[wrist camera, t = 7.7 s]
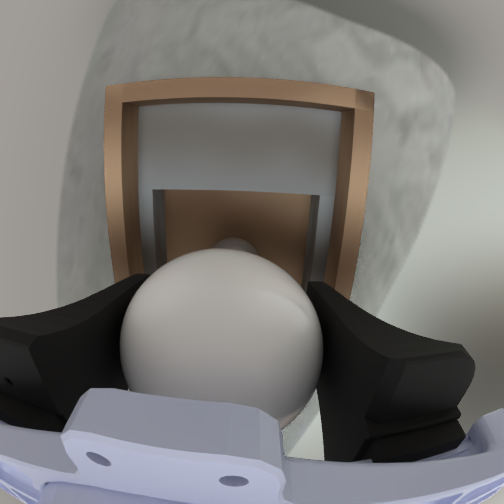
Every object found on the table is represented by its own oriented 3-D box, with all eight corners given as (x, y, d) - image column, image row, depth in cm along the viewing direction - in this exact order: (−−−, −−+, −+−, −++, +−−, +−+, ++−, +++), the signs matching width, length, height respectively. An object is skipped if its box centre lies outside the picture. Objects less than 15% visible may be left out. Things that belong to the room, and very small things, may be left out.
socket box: (315, 333, 19) (329, 380, 15) (153, 325, 19) (133, 370, 15) (342, 103, 14) (374, 92, 10) (142, 97, 14) (106, 86, 10)
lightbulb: (161, 217, 16) (41, 342, 6) (277, 185, 15) (331, 286, 5) (198, 316, 18) (156, 482, 8) (302, 293, 17) (348, 463, 7)
